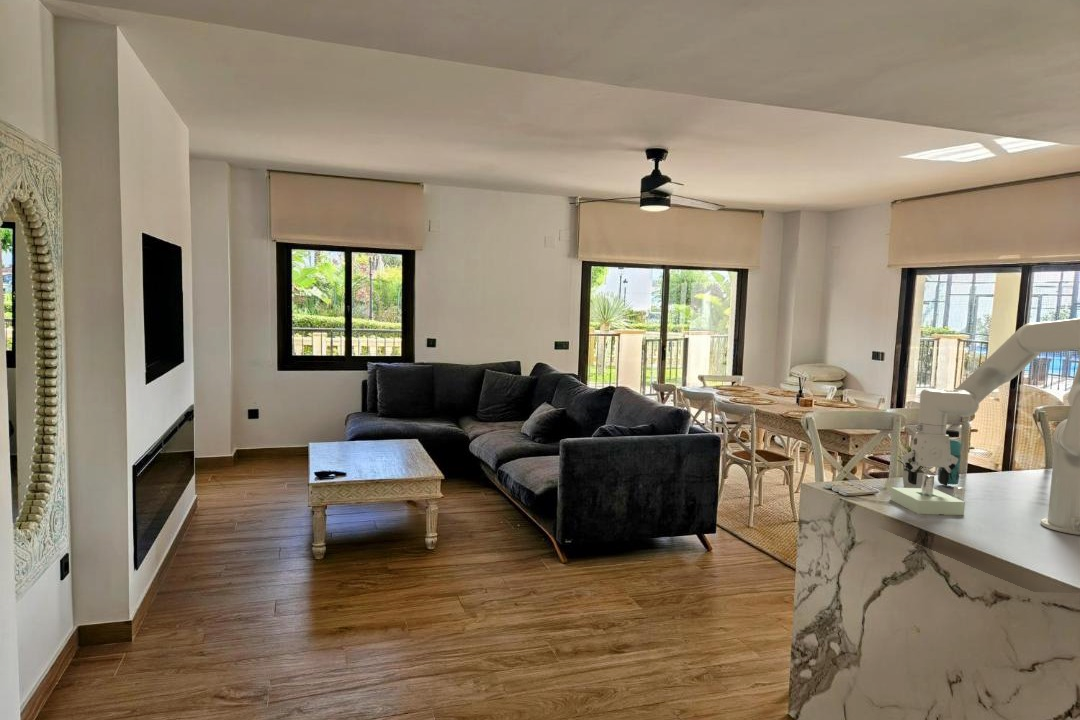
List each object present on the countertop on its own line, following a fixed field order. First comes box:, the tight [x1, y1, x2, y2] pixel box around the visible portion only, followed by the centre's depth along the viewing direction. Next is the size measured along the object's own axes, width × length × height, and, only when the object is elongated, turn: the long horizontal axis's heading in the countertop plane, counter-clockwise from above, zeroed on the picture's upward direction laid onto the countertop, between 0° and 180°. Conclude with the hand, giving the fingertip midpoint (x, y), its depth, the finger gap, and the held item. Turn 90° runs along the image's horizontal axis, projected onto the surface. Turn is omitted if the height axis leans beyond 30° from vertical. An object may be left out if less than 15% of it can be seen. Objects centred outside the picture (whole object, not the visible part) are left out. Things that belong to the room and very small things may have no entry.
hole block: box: [890, 487, 966, 516], centre depth 205 cm, size 15×14×4 cm
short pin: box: [952, 485, 966, 502], centre depth 211 cm, size 3×3×5 cm
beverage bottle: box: [937, 429, 963, 486], centre depth 232 cm, size 6×7×20 cm
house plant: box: [893, 441, 927, 488], centre depth 227 cm, size 14×14×16 cm
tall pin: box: [921, 473, 935, 497], centre depth 205 cm, size 3×3×10 cm
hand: (927, 484), depth 205 cm, fingers open, 9 cm apart
